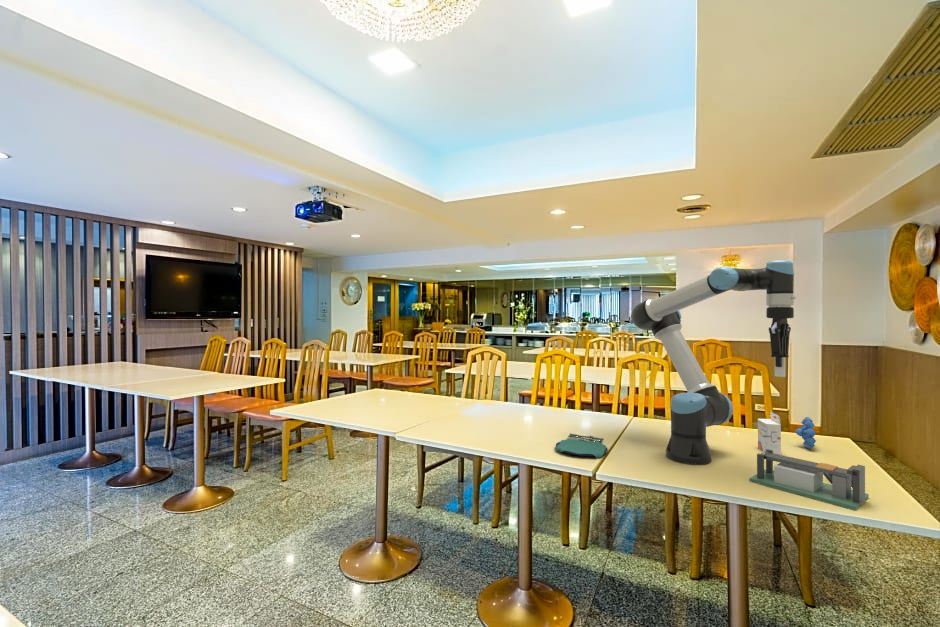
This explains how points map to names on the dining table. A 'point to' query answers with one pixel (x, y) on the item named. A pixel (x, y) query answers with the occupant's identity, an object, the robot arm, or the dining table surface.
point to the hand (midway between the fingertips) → (779, 376)
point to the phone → (829, 477)
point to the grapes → (807, 432)
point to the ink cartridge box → (770, 434)
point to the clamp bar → (806, 464)
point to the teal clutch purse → (582, 446)
